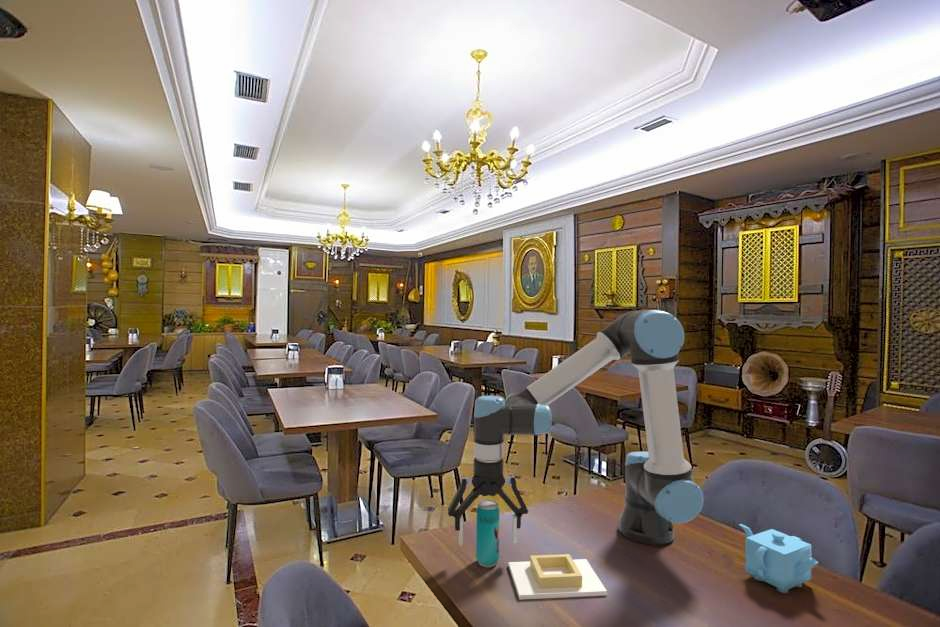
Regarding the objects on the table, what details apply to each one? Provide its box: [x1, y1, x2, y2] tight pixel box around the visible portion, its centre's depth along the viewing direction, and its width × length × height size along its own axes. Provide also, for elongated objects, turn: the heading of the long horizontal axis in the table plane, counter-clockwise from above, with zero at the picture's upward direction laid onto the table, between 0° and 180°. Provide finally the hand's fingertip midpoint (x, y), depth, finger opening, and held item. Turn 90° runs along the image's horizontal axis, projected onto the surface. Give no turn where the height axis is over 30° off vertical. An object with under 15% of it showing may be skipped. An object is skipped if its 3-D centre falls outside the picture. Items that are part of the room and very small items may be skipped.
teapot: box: [738, 523, 819, 594], centre depth 115 cm, size 16×18×11 cm
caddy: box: [507, 553, 608, 601], centre depth 114 cm, size 20×14×4 cm
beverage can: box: [475, 499, 500, 568], centre depth 122 cm, size 6×6×15 cm
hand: (487, 541), depth 122 cm, fingers open, 13 cm apart
